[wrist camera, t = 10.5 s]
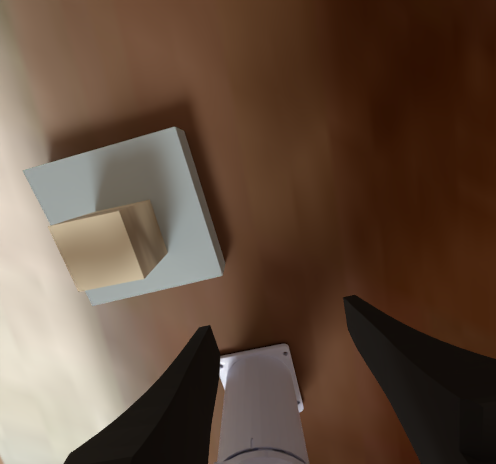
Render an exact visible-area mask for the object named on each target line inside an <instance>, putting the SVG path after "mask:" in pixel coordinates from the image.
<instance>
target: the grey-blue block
mask: <svg viewBox="0 0 496 464" xmlns="http://www.w3.org/2000/svg"><path fill="white" fill-rule="evenodd" d="M23 172H24V174H25V176H26V178H27V180H28V182H29V184H30V186H31V188H32V190H33V192H34V194H35V196H36V198H37V199H38V201H39V203H40V205H41V207H42V209H43V211H44V213H45V215H46V217H47V219H48V221H49V223H50V225H54V224H57V223H60V222H64V221H67V220H70V219H73V218H76V217H79V216H83V215H86V214H89V213H92V212H95V211H100V210H105V209H109V208H114V207H118V206H123V205H127V204H132V203H136V202H141V201H146V200H150V201H151V204H152V207H153V210H154V213H155V216H156V219H157V222H158V225H159V228H160V231H161V234H162V237H163V240H164V243H165V246H166V249H167V252H168V253H167V254H166V255H165V257H164V258H163V259H162V260H161V261H160V262H159V263H158V264H157V265H156V267H155V268H154V269H153V270H152V271H151V272H150V273H149V274H148V275H147V277H146V278H145V279H141V280H136V281H131V282H126V283H121V284H116V285H111V286H106V287H101V288H96V289H91V290H86V291H85V292H86V294H87V296H88V298H89V300H90V302H91V304H92V306H95V305H99V304H103V303H107V302H112V301H116V300H120V299H125V298H129V297H133V296H137V295H142V294H146V293H150V292H155V291H159V290H163V289H168V288H172V287H176V286H180V285H185V284H189V283H193V282H198V281H202V280H206V279H210V278H215V277H219V276H223V272H224V268H225V261H224V258H223V254H222V251H221V248H220V245H219V241H218V238H217V235H216V232H215V229H214V225H213V222H212V219H211V216H210V213H209V209H208V206H207V203H206V200H205V196H204V193H203V190H202V187H201V184H200V180H199V177H198V174H197V171H196V167H195V164H194V161H193V158H192V155H191V151H190V148H189V145H188V142H187V139H186V135H185V132H184V131H183V130H181V129H179V128H177V127H172V128H168V129H165V130H161V131H158V132H154V133H151V134H147V135H144V136H140V137H137V138H133V139H130V140H127V141H123V142H120V143H116V144H113V145H109V146H106V147H102V148H99V149H95V150H92V151H88V152H85V153H81V154H78V155H74V156H71V157H68V158H64V159H61V160H57V161H54V162H50V163H47V164H43V165H40V166H36V167H33V168H29V169H26V170H23Z"/></svg>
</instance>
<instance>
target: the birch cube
mask: <svg viewBox="0 0 496 464" xmlns="http://www.w3.org/2000/svg"><path fill="white" fill-rule="evenodd" d="M48 228H49V230H50V232H51V234H52V236H53V239H54V241H55V243H56V245H57V247H58V249H59V251H60V254H61V256H62V258H63V260H64V262H65V264H66V266H67V268H68V271H69V273H70V275H71V277H72V279H73V281H74V283H75V285H76V288H77V290H78V292H81V291H86V290H91V289H96V288H101V287H106V286H111V285H116V284H121V283H126V282H131V281H136V280H141V279H145V278H146V277H147V275H148V274H149V273H150V272H151V271H152V270H153V269H154V268H155V267H156V265H157V264H158V263H159V262H160V261H161V260H162V259H163V258H164V257H165V255H166V254H167V253H168V252H167V249H166V246H165V243H164V240H163V237H162V234H161V231H160V228H159V225H158V222H157V219H156V216H155V213H154V210H153V207H152V204H151V201H150V200H146V201H141V202H136V203H132V204H127V205H123V206H118V207H114V208H109V209H105V210H100V211H95V212H92V213H89V214H86V215H83V216H79V217H76V218H73V219H70V220H67V221H64V222H60V223H57V224H54V225H51V226H48Z"/></svg>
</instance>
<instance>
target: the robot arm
mask: <svg viewBox="0 0 496 464" xmlns="http://www.w3.org/2000/svg"><path fill="white" fill-rule="evenodd" d="M343 300H344V307H345V313H346V320H347V326H348V331H349V333H350V335H351V337H352V339H353V341H354V343H355V345H356V347H357V349H358V351H359V353H360V354H361V356H362V357H363V359H364V361H365V362H366V364H367V365H368V367H369V369H370V370H371V372H372V373H373V375H374V376H375V378H376V380H377V381H378V383H379V384H380V386H381V388H382V389H383V391H384V392H385V394H386V396H387V398H388V399H389V401H390V403H391V405H392V407H393V409H394V411H395V413H396V414H397V416H398V418H399V420H400V422H401V424H402V426H403V428H404V430H405V432H406V434H407V436H408V438H409V440H410V442H411V444H412V446H413V448H414V450H415V452H416V454H417V456H418V458H419V460H420V462H421V464H496V359H493V358H490V357H487V356H483V355H480V354H477V353H474V352H471V351H468V350H465V349H462V348H459V347H456V346H454V345H451V344H448V343H445V342H443V341H440V340H438V339H435V338H433V337H431V336H428V335H426V334H424V333H422V332H419V331H417V330H415V329H413V328H411V327H409V326H407V325H405V324H403V323H401V322H399V321H397V320H396V319H394V318H392V317H390V316H388V315H387V314H385V313H383V312H382V311H380V310H378V309H377V308H375V307H373V306H372V305H370V304H369V303H367V302H365V301H364V300H362V299H361V298H359V297H358V296H356V295H352V296H347V297H343ZM284 352H286V353H284ZM220 364H222V365H220ZM219 376H220V378H221V381H222V384H223V387H224V389H225V396H224V405H223V414H222V423H221V433H220V442H219V451H218V460H217V462H215V463H214V464H309V461H308V455H307V450H306V445H305V440H304V435H303V430H302V425H301V420H300V415H299V412H301V411H303V409H304V407H303V403H302V399H301V395H300V391H299V387H298V382H297V378H296V374H295V370H294V366H293V362H292V358H291V354H290V350H289V346H288V345H287V344H279V345H274V346H268V347H263V348H258V349H253V350H248V351H243V352H238V353H233V354H228V355H223V356H220V352H219V349H218V346H217V344H216V341H215V338H214V335H213V332H212V329H211V326H210V325H208V326H203V327H199V328H198V330H197V331H196V332H195V334H194V335H193V336H192V338H191V339H190V340H189V342H188V343H187V345H186V346H185V347H184V349H183V350H182V351H181V352H180V354H179V355H178V356H177V358H176V359H175V360H174V361H173V363H172V364H171V365H170V366H169V367H168V369H167V370H166V371H165V372H164V373H163V375H162V376H161V377H160V378H159V379H158V380H157V381H156V382H155V383H154V384H153V385H152V386H151V387H150V388H149V390H148V391H147V392H146V393H145V394H144V395H142V396H141V397H140V398H139V399H138V400H137V401H136V402H135V403H134V404H133V405H132V406H131V407H129V408H128V409H127V410H126V411H125V412H124V413H123V414H121V415H120V416H119V417H118V418H117V419H116V420H114V421H113V422H112V423H111V424H109V425H108V426H107V427H106V428H104V429H103V430H102V431H100V432H99V433H98V434H96V435H95V436H94V437H92V438H91V439H89V440H88V441H87V442H85V443H84V444H83V445H81V446H80V447H78V448H77V449H76V450H74V451H73V452H71V453H70V454H69V456H68V457H67V459H66V461H65V462H64V464H208V456H209V443H210V431H211V424H212V417H213V411H214V406H215V400H216V394H217V388H218V382H219Z"/></svg>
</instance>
